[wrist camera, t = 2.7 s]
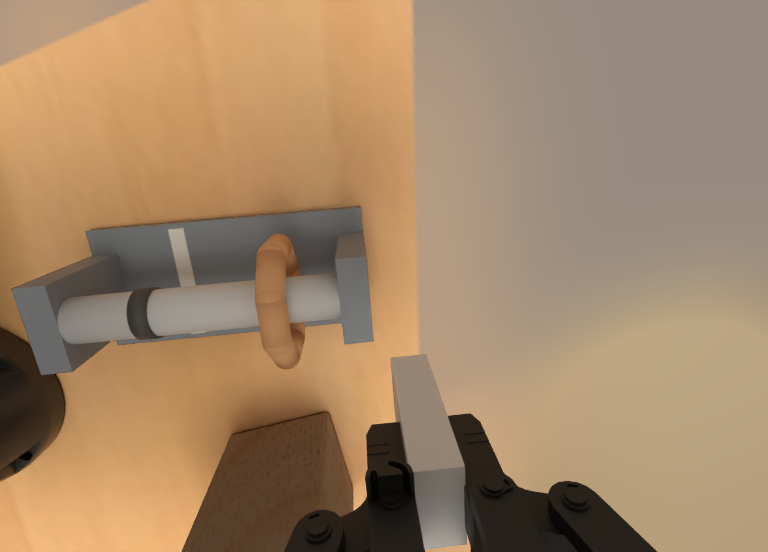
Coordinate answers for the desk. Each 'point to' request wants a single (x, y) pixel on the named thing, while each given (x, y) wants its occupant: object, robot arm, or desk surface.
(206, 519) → the wooden block
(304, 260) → the pipe stand
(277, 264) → the o-ring
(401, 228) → the desk surface
